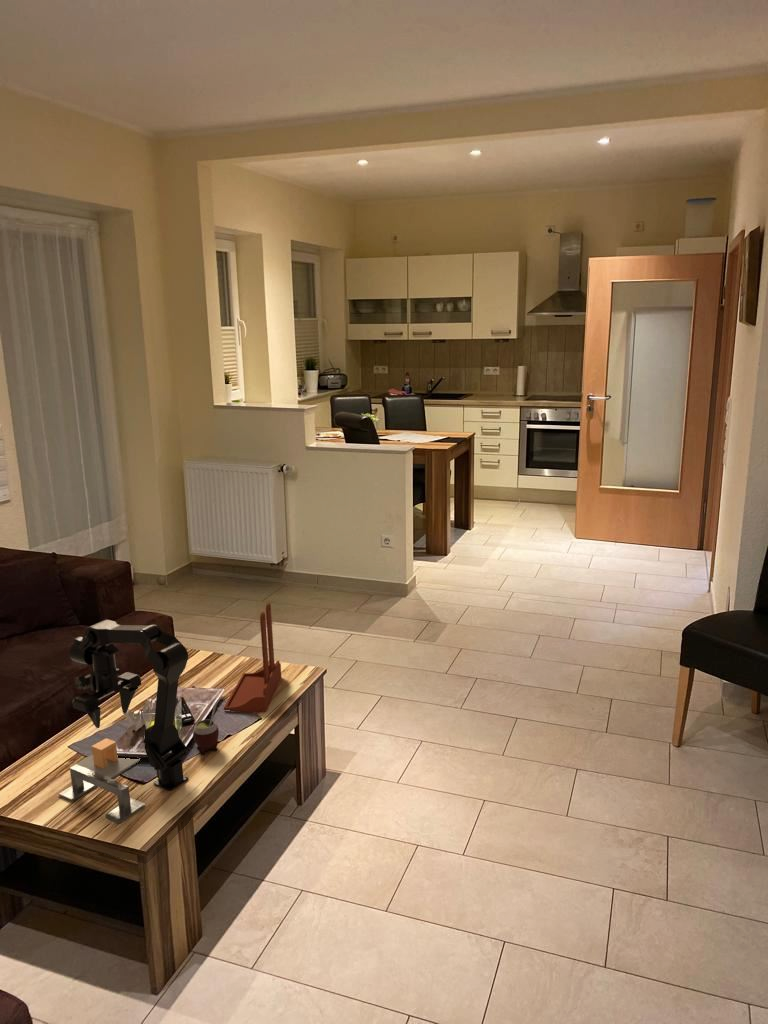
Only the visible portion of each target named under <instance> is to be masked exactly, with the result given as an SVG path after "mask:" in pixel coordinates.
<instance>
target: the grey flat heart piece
mask: <svg viewBox="0 0 768 1024" xmlns="http://www.w3.org/2000/svg"><path fill="white" fill-rule="evenodd" d="M122 713H123V712H122ZM140 715H141V710H140V709H136V710H135V711H134V712H132V710H131V709H129V708H128V710H127V713H123V716H124V717H125V719H126V720H127V721H128V722H130V723H131V724H130V725H131V726H132V725H133V724H134V723H136V722H137V721H139V720H140Z"/></svg>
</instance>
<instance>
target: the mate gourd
mask: <svg viewBox="0 0 768 1024" xmlns="http://www.w3.org/2000/svg"><path fill="white" fill-rule="evenodd" d="M222 698H223V695H221V696H220V697H219V698H218V699H217V700H216V701H215V703H214V704H213V707H212V711H211V712H212V713H211V716H210V719H202V720H200V721H197V722H196V724H195V725H194V726H193V732H192V738H193V741H194V742H195V744H196V749H197V750H200V751H201V752H200V755H201V756H205V755H206V753H207V752H218V750H219V748H217V747H218V741H219V733H220V731H219V728H218V724H217V723H216V722H215V721H214V715H215V711H216V709H217V705H218V703H219V702H220V700H221V699H222Z"/></svg>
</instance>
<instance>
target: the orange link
mask: <svg viewBox="0 0 768 1024" xmlns="http://www.w3.org/2000/svg"><path fill="white" fill-rule="evenodd" d="M117 750H118V749H117V741H115V740H112V739H109V738H108V737H106V738H104V739H102V740H100V741H99V742H97V743H95V744H93V745H91V751H92V754H93V760H94V765H96V766H98V767H100V768H103V769H104V768H106V767H107V765H106V759H109V760H111V761H114V762H116V761H118V755H117Z"/></svg>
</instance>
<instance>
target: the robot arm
mask: <svg viewBox="0 0 768 1024" xmlns="http://www.w3.org/2000/svg"><path fill="white" fill-rule="evenodd" d="M154 641H156V642H157V643H160V644H162V645H164V646H166V647H163V648H162V649H160V650H158V651H155V649H154V648H153V643H152V642H154ZM114 643H115V644H116V643H117V644H119V643H120V644H140V645H141V646H142V647H143V651H144V655H145V658H146V660H147V661H148V662H149V663H150V664H151V665H152V671H153V673H154V674H155V676H156V677H157V679H158V680H157V688H156V698H155V711H154V719H153V724H152V725H151V726H149V727H147V728H146V729H145V730H144V732H143V734H144V735H143V736H144V739H143V742H142V743H143V744H144V751H145V754H146V757H147V759H148V762H149V765H150V767H152V768H154V769H153V770H155V771H156V775H157V779H156V780H153V785H156V786H158V787H160V788H163V789H165V790H167V791H173V790H174V789H175V788H178V787H179V786H180V785H181V784H184V783H185V782H186V781H187V780H188V779H189V776H187V775H185V774H184V771H183V769H184V768H183V760H182V758H184V757H185V756H187V755H188V750H189V749H188V747H187V746H186V744H185V743H184V741H182V739H181V738H180V736H179V734H180V733H179V730H178V729H177V727H176V725H175V716H176V715H175V714H176V708H177V707H176V706H177V695H178V687H179V679H180V677H181V675H182V674H183V672H184V671H185V670H186V667H187V665H188V660H189V652H188V650H187V648H186V647H185V646H184V645H183V644H182V642H180V640H179V639H178V638H177V637H176V636H174V635H172V634H169V633H167V632H165V631H163V630H162V629H161V628H160V627H159V626H158V625H157V624H150V625H140V624H138V625H134V624H133V625H131V624H128V625H126V624H123V625H122V624H118V622H116V621H114V620H110V619H104V620H102V621H99V622H97V623H94V624H93V625H90V626H87V627H86V628H85V631H84V635H83V636H78V637H75V638H73V643H72V644H71V646H70V649H69V652H68V656H69V658H70V660H72V661H73V662H77V663H80V664H84V665H89V666H91V665H92V671H91V672H90V673H89V674H87V675H86V676H85V675H78V676H77V677H75V678H74V681H75V682H74V685H75V686H76V689H78V690H81V689H83V691H85V690H86V689H90V691H93V692H94V691H96V692H95V693H93V694H89V693H86V692H84V693H82V694H80V695H78V696H76V697H74V698H73V699H72V702H71V703H72V709H75V710H77V711H80V712H84V713H86V714H87V715H88V717H89V719H90V720H91V722H92V724H93V725H94V728H96V729H100V727H101V707H100V706H99V705H100V700H101V699H103V698H105V697H108V696H110V695H111V694H113V693H115V692H117V691H118V693H119V699H120V704H121V710H122V713H127V710H128V709H129V707H130V705H131V702H132V699H133V697H135V694H136V691H138V689H139V687H140V686H142V678H141V677H140V675H138V674H135V673H133V672H129V671H127V672H124V673H122V674H121V675H119V674H120V673H121V671H120V669H119V668H117V665H116V663H117V662H116V657H115V655H116V654H118V653H119V652H120V651H121V650H120V649H119V648H118V647H117V646H116V645H114Z"/></svg>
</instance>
